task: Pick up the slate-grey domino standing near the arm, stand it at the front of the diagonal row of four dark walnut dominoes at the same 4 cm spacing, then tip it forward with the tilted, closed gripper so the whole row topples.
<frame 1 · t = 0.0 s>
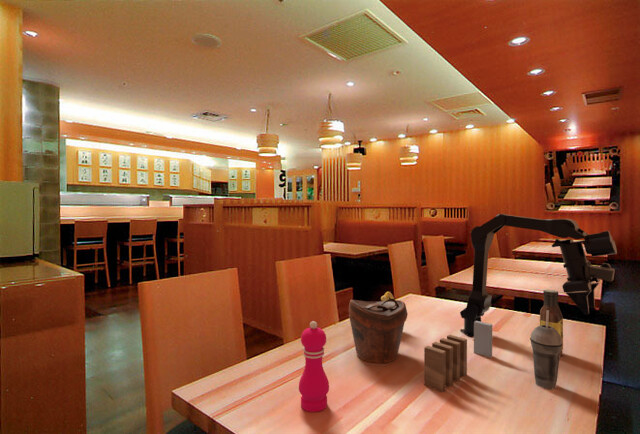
hand: (589, 311, 106), 15 cm above the table, tool pointing down, fingers open, 9 cm apart
beverage cup: (545, 385, 94), on the table
domino 3: (449, 377, 98), on the table
pepper mill: (314, 405, 85), on the table
sauce bottle: (550, 353, 114), on the table
brown wooden tapered container: (377, 355, 113), on the table
domino 1: (482, 354, 113), on the table
domino 4: (442, 382, 95), on the table
domino 5: (434, 387, 93), on the table
domino 2: (456, 372, 101), on the table
chocolate bunny: (388, 331, 135), on the table
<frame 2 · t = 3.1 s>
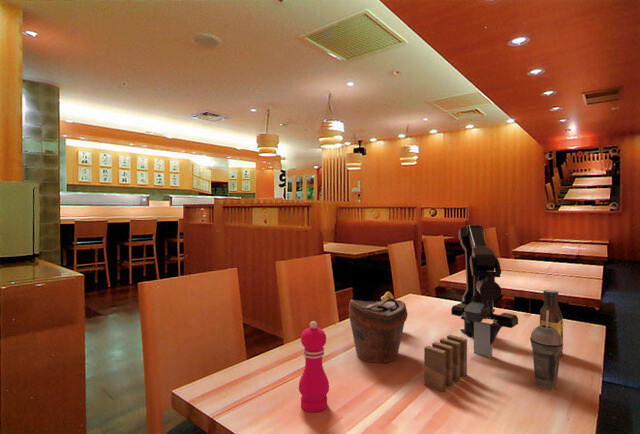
hand: (482, 341, 113), 4 cm above the table, tool pointing down, fingers closed on domino 1, 5 cm apart
domino 1: (482, 354, 113), on the table, touching gripper
everything else where it was.
when the fingers open (5 cm above the table, at t = 7.5 s): domino 1 drops 1 cm, on the table.
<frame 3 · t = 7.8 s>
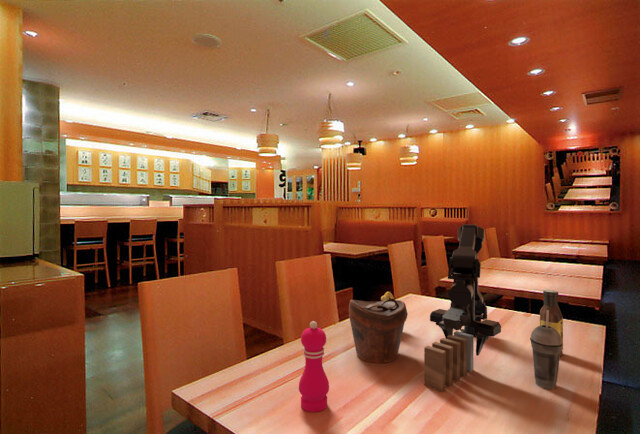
hand: (463, 351, 103), 5 cm above the table, tool pointing down, fingers open, 8 cm apart
domino 1: (463, 368, 104), on the table
everything else where it was.
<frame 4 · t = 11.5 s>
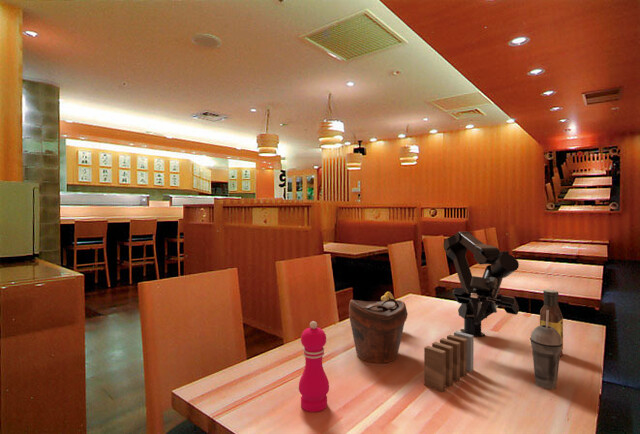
hand: (475, 323, 108), 11 cm above the table, tool tilted 45°, fingers closed
nothing on the table moved.
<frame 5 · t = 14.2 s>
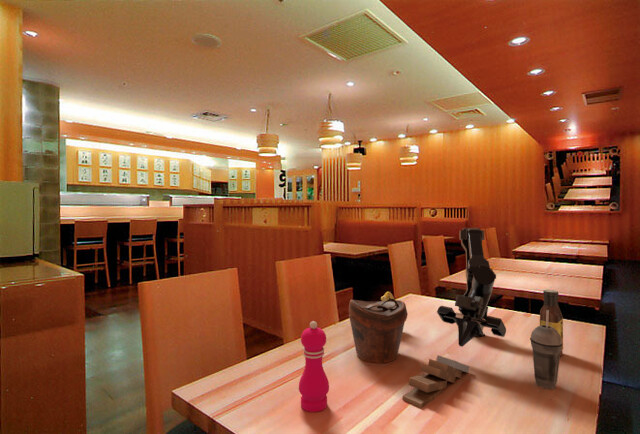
hand: (460, 345, 102), 7 cm above the table, tool tilted 45°, fingers closed
domino 3: (446, 376, 97), point 1 cm above the table, tilted 62°, touching domino 2, domino 4
domino 1: (460, 367, 103), point 1 cm above the table, tilted 64°, touching domino 2
domino 4: (437, 380, 94), point 1 cm above the table, tilted 76°, touching domino 3, domino 5
domino 5: (432, 388, 92), on the table, tilted 90°, touching domino 4
domino 2: (452, 372, 100), point 1 cm above the table, tilted 62°, touching domino 1, domino 3
everything else where it was.
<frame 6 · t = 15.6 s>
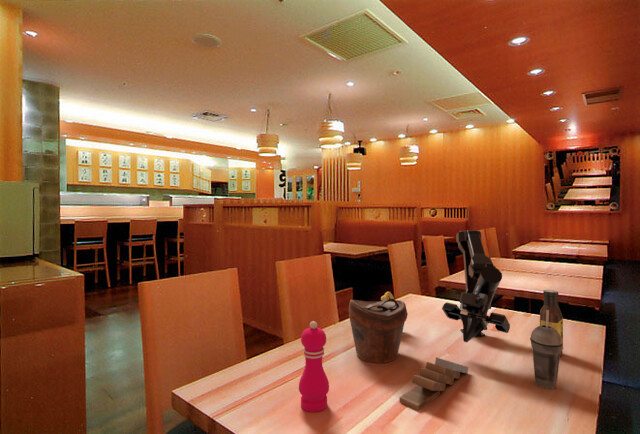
hand: (464, 341, 105), 7 cm above the table, tool tilted 45°, fingers closed
domino 3: (444, 378, 96), point 1 cm above the table, tilted 65°, touching domino 2, domino 4
domino 4: (435, 383, 92), point 1 cm above the table, tilted 67°, touching domino 3, domino 5
domino 5: (430, 390, 91), on the table, tilted 90°, touching domino 4
domino 2: (450, 372, 99), point 1 cm above the table, tilted 65°, touching domino 1, domino 3
everything else where it was.
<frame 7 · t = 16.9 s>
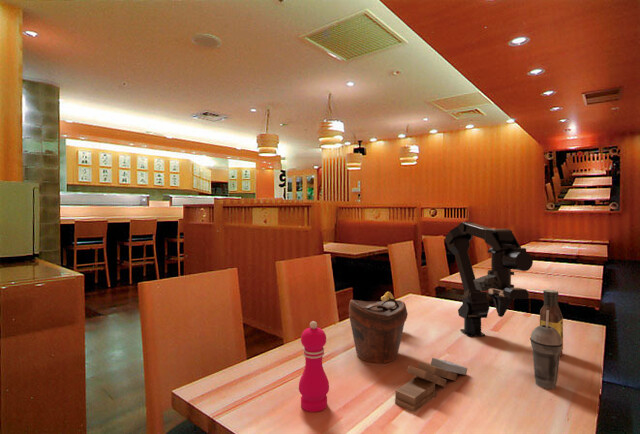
hand: (500, 316, 115), 11 cm above the table, tool pointing down, fingers closed
domino 3: (437, 380, 94), point 1 cm above the table, tilted 61°, touching domino 2, domino 4
domino 4: (425, 383, 91), point 2 cm above the table, tilted 90°, touching domino 3, domino 5
domino 5: (426, 391, 90), on the table, tilted 90°, touching domino 4
domino 2: (448, 374, 98), point 1 cm above the table, tilted 65°, touching domino 1, domino 3
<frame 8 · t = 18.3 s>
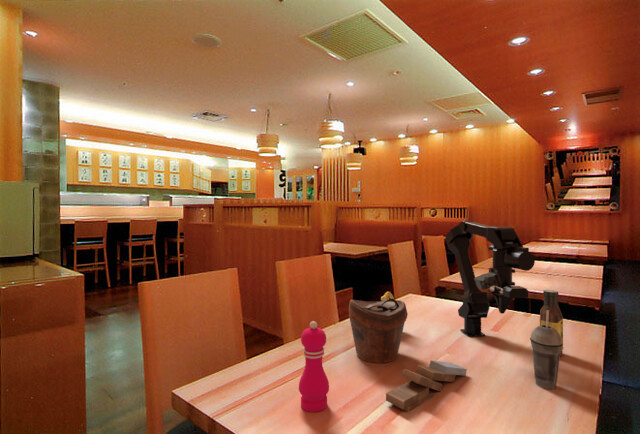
hand: (501, 313, 116), 12 cm above the table, tool pointing down, fingers closed
domino 3: (432, 383, 93), point 1 cm above the table, tilted 62°, touching domino 2
domino 4: (420, 387, 89), point 2 cm above the table, tilted 89°, touching domino 5
domino 2: (447, 374, 98), point 1 cm above the table, tilted 71°, touching domino 1, domino 3
at the end: domino 5 tilted 90°; domino 1 tilted 72°; domino 1 moved 17.4 cm from its start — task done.
